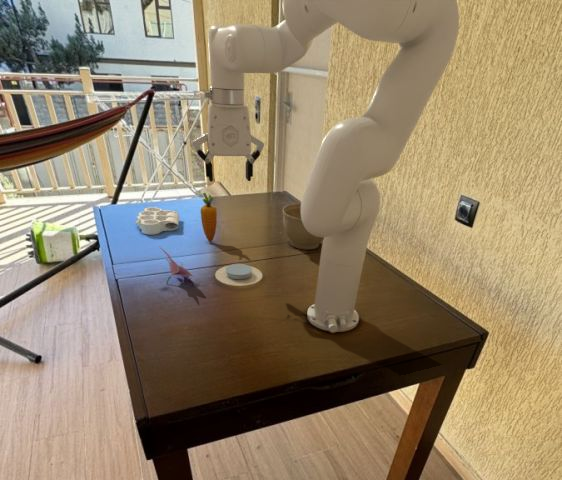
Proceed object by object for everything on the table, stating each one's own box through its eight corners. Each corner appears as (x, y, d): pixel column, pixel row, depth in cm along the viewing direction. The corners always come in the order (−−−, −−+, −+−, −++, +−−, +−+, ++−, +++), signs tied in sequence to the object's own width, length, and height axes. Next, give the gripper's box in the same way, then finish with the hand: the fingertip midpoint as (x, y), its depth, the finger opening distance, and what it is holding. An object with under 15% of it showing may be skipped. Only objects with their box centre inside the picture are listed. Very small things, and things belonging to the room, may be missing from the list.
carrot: (219, 244, 127) (217, 195, 117) (204, 246, 125) (201, 196, 115) (216, 238, 130) (213, 190, 120) (201, 240, 128) (197, 191, 119)
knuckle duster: (178, 234, 131) (132, 235, 129) (179, 216, 145) (138, 216, 142) (177, 224, 129) (130, 224, 126) (178, 207, 142) (136, 207, 140)
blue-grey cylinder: (251, 281, 105) (251, 275, 104) (224, 279, 105) (224, 274, 104) (252, 269, 111) (252, 264, 110) (227, 268, 111) (226, 263, 110)
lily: (194, 301, 100) (205, 265, 97) (147, 286, 95) (158, 247, 93) (190, 293, 110) (200, 260, 108) (147, 279, 106) (157, 244, 103)
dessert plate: (261, 290, 104) (261, 286, 103) (212, 288, 104) (212, 284, 103) (262, 269, 114) (263, 265, 113) (218, 267, 114) (217, 263, 113)
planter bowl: (275, 250, 126) (277, 215, 119) (286, 233, 138) (289, 200, 131) (324, 257, 123) (329, 222, 116) (332, 239, 135) (336, 207, 128)
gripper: (190, 98, 84) (196, 184, 95) (268, 101, 88) (266, 183, 99) (187, 94, 89) (193, 176, 100) (261, 97, 94) (259, 175, 105)
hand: (229, 179), depth 100 cm, fingers open, 9 cm apart
